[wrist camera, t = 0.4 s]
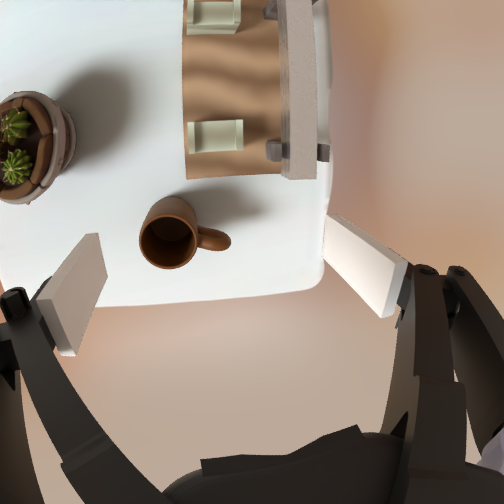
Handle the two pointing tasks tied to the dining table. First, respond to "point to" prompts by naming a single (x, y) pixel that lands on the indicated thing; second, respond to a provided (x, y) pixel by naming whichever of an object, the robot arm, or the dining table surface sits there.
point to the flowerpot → (32, 145)
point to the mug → (176, 234)
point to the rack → (232, 89)
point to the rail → (297, 89)
